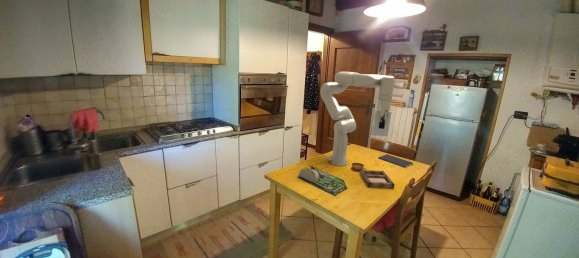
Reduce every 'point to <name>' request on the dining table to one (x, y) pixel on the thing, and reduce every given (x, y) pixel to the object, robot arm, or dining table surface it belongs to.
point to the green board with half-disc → (322, 180)
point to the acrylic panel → (375, 125)
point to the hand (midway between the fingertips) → (380, 127)
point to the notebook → (395, 160)
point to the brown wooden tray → (376, 174)
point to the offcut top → (377, 180)
